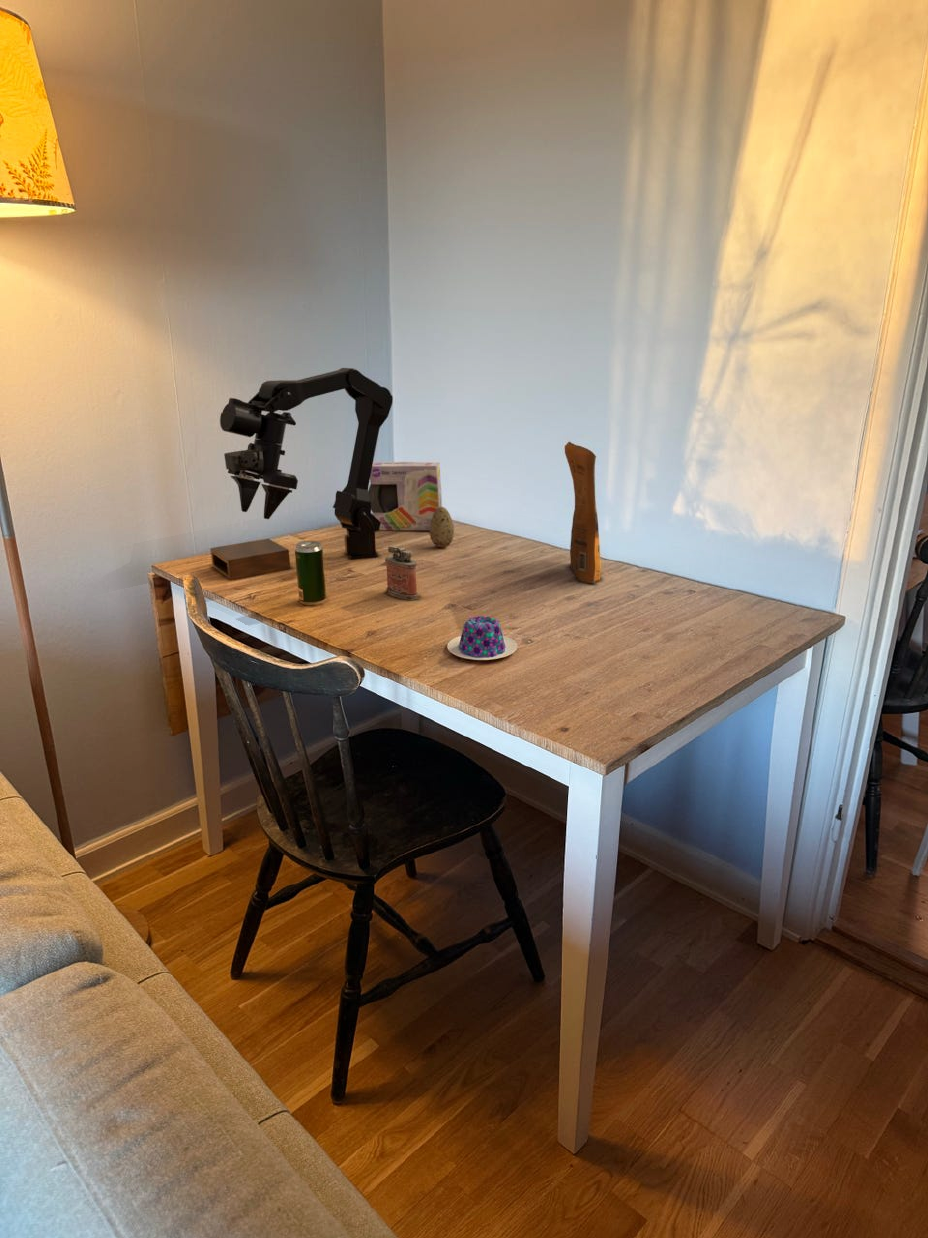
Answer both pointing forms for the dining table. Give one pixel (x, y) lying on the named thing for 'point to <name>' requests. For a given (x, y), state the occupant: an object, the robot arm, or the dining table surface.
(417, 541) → the dining table surface
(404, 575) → the lighter
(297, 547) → the beer can
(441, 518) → the decorative egg
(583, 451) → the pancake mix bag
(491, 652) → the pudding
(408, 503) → the cake pan box
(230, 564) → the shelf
